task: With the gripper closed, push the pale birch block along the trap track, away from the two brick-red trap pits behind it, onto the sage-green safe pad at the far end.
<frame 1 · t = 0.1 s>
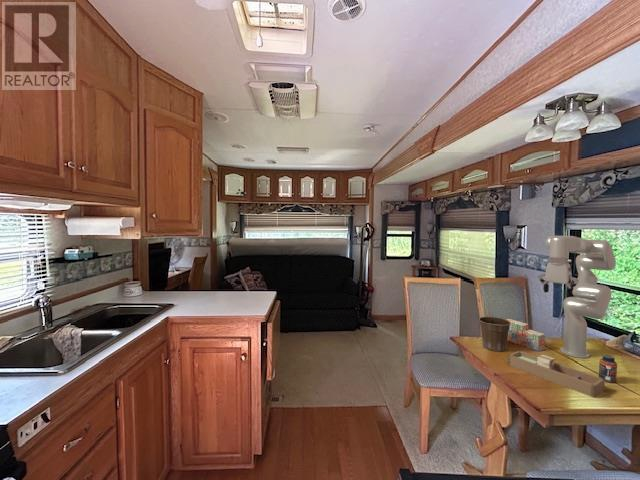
hand: (557, 294, 154), 37 cm above the table, tool pointing down, fingers open, 9 cm apart
supplement bottle: (607, 380, 140), on the table
trap track: (548, 375, 144), on the table
birch block: (545, 367, 145), point 3 cm above the table, touching trap track
stack of blocks: (522, 344, 182), on the table
plant pot: (493, 347, 177), on the table
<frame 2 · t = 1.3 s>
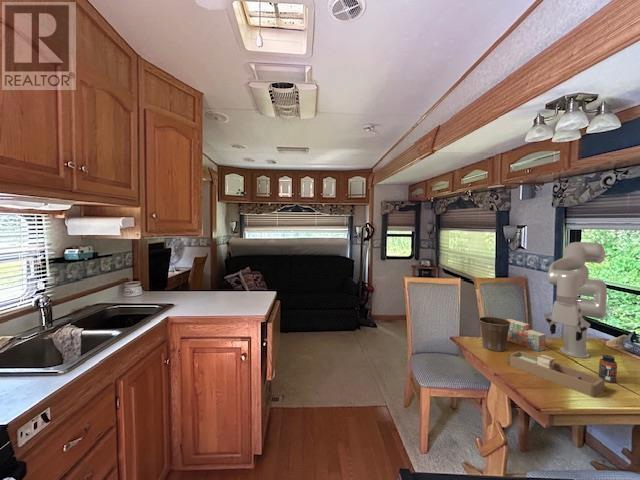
hand: (565, 336, 138), 21 cm above the table, tool pointing down, fingers open, 9 cm apart
nothing on the table moved.
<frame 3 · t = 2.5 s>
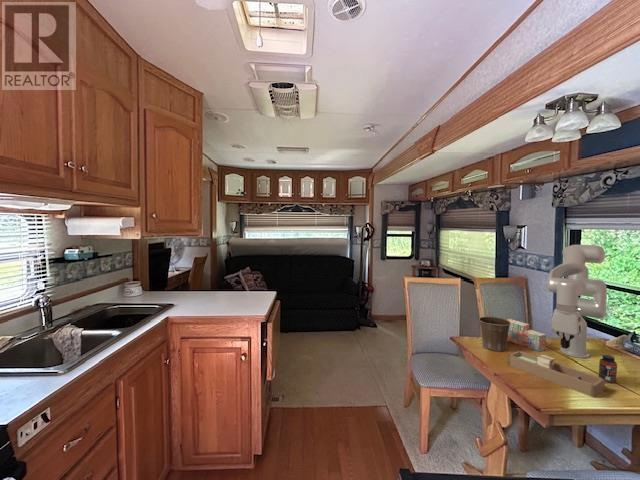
hand: (565, 347, 138), 16 cm above the table, tool pointing down, fingers closed
nothing on the table moved.
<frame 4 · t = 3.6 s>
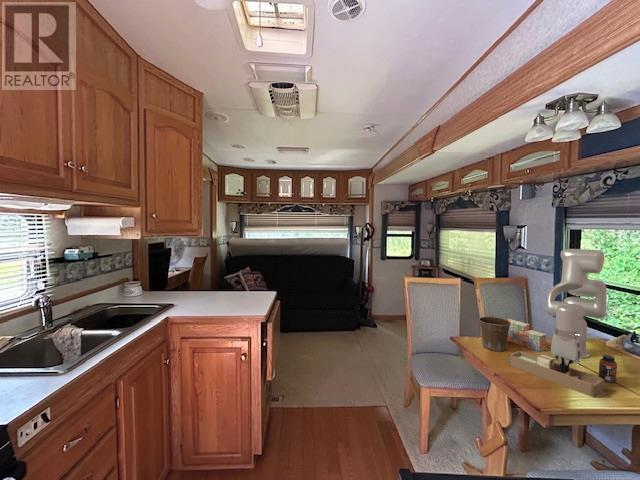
hand: (564, 372, 139), 4 cm above the table, tool pointing down, fingers closed
nothing on the table moved.
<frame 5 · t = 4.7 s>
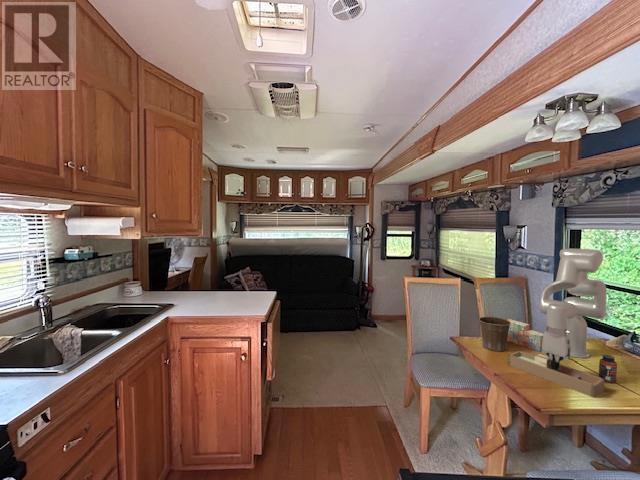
hand: (554, 368, 142), 4 cm above the table, tool pointing down, fingers closed
birch block: (542, 367, 146), point 3 cm above the table, touching gripper, trap track
everything else where it was.
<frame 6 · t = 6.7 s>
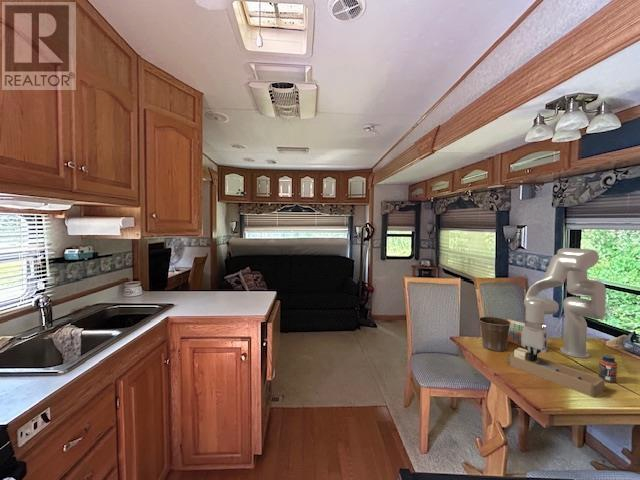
hand: (532, 360, 150), 4 cm above the table, tool pointing down, fingers closed
birch block: (521, 360, 154), point 3 cm above the table, touching gripper
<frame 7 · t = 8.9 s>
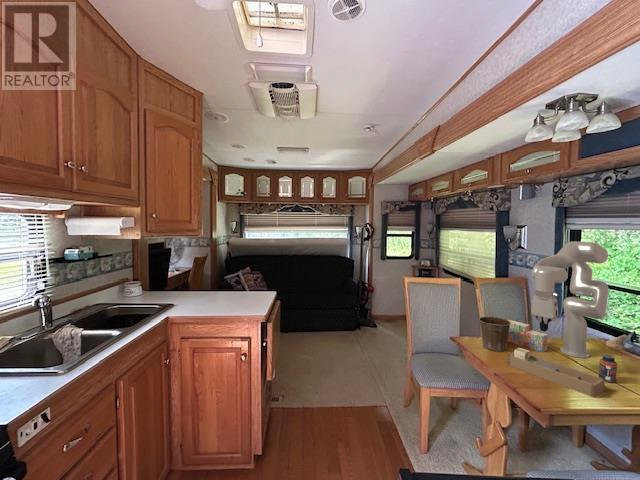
hand: (543, 330, 148), 20 cm above the table, tool pointing down, fingers closed
birch block: (521, 360, 154), point 3 cm above the table, touching trap track
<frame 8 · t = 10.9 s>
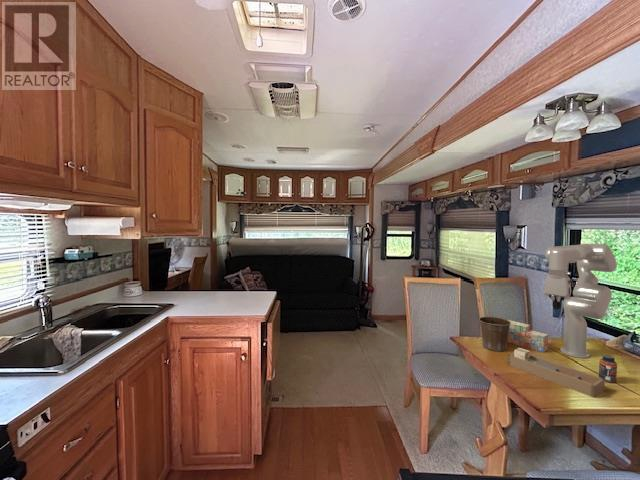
hand: (556, 308, 154), 29 cm above the table, tool pointing down, fingers closed
at the end: birch block 1.4 cm from the target spot on the trap track, point 3.0 cm above the trap track's base; birch block tilted 0°; birch block moved 10.2 cm from its start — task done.
